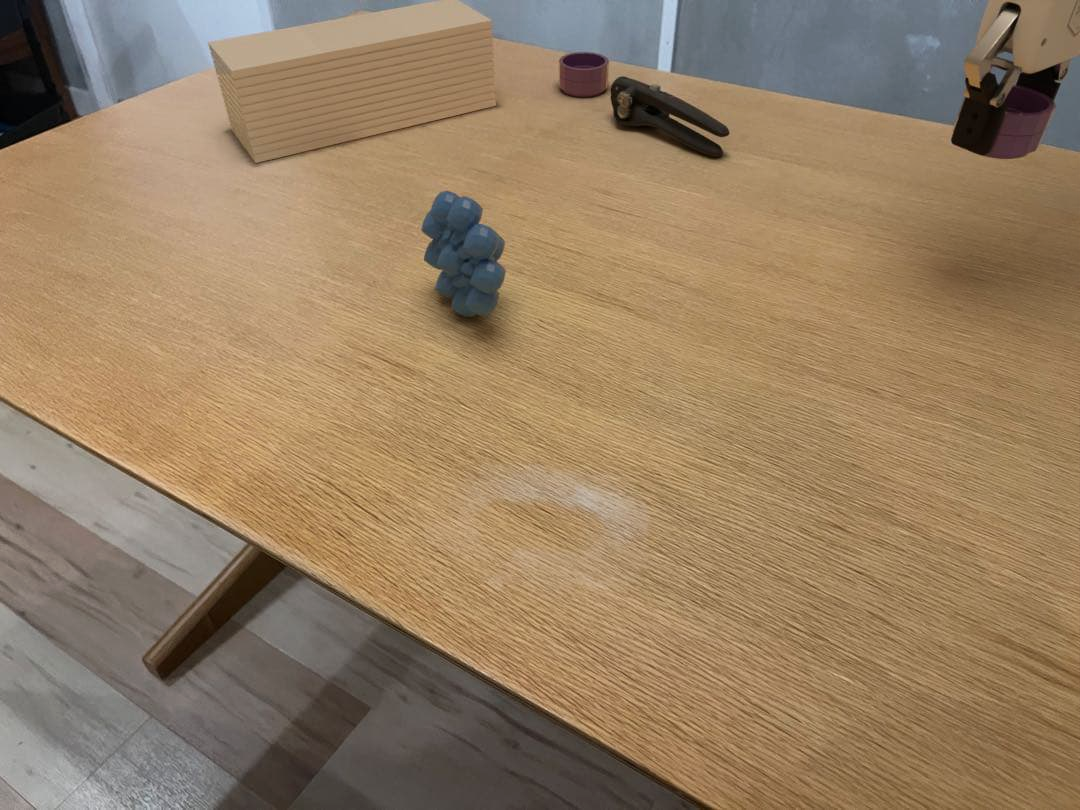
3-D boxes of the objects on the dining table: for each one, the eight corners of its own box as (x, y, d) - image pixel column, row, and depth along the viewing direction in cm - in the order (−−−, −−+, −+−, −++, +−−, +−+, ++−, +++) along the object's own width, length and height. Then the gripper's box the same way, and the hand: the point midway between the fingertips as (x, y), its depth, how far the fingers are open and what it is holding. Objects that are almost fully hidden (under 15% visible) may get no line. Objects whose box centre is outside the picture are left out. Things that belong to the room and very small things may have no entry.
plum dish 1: (603, 78, 115) (604, 50, 112) (611, 97, 110) (612, 68, 108) (556, 81, 114) (556, 53, 112) (562, 99, 110) (562, 70, 107)
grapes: (543, 329, 72) (542, 206, 64) (476, 356, 69) (466, 231, 61) (475, 269, 79) (467, 151, 71) (413, 292, 76) (396, 172, 68)
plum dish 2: (1010, 125, 71) (1027, 81, 69) (1052, 159, 66) (1073, 113, 64) (936, 129, 71) (951, 84, 68) (974, 163, 66) (991, 117, 63)
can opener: (595, 121, 104) (597, 76, 101) (634, 106, 108) (636, 62, 104) (702, 168, 94) (708, 121, 91) (741, 150, 98) (748, 104, 94)
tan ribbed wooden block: (255, 163, 96) (231, 70, 89) (231, 130, 103) (207, 42, 96) (496, 106, 108) (492, 19, 101) (460, 80, 115) (454, -3, 108)
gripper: (1077, -87, 50) (975, 183, 62) (1209, -121, 57) (1095, 126, 69) (967, -107, 55) (891, 148, 67) (1102, -137, 62) (1012, 98, 74)
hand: (996, 135), depth 68 cm, fingers closed on plum dish 2, 6 cm apart
